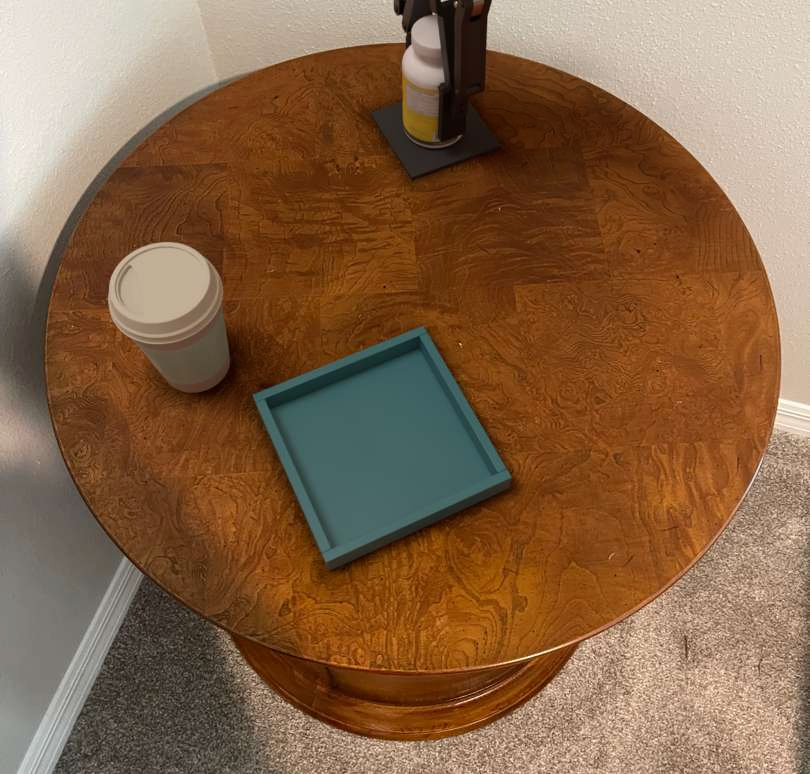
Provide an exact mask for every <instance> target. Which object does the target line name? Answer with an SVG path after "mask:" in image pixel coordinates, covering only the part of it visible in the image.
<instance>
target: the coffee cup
mask: <svg viewBox="0 0 810 774" xmlns="http://www.w3.org/2000/svg"><path fill="white" fill-rule="evenodd" d="M108 285H109V286H108V294H107V296H108V297H107V303H108V309H109V312H110V316H111V319H112V320H113V323H114V324H115V326H116V327H117V329H118V330H119V331H120V332H121V333H123V334H124V335H125V336H127V337H128V338H131V339H132V340H133V342H134V343H135V344H136V346H137V347H138V348H139V349H140V350H141V351H142V353H143V354H144V355H145V356H146V358H147V359H148V360H149V362H150V363H151V364H152V365H153V366H154V367H155V369H156V370H157V371H158V373H159V374H160V375H161V376H162V377H163V379H164V380H165V381H166V382H167V383H168V384H169V385H170V386H171V387H172V388H174V389H175V390H177V391H180V392H183V393H187V394H188V393H189V394H193V393H195V394H197V393H201V392H205V391H208V390H210V389H212V388H214V387H215V386H217V385H218V384H220V382H222V380H224V378H225V377H226V375H227V374H228V371H229V368H230V365H231V355H230V349H229V348H230V347H229V341H228V336H227V335H228V334H227V329H226V322H225V315H224V310H223V309H224V308H223V296H224V287H223V282H222V278H221V276H220V274H219V272H218V271H217V269H216V268H215V266H214V265H213V264H212V262H211V261H210V260H208V258H207V257H205V256H203V255H202V254H201V253H200V252H199V251H197V250H196V249H194V247H191V246H189V245H187V244H183V243H179V242H172V241H164V242H163V241H161V242H156V243H155V242H154V243H151V244H147V245H144V246H141V247H139V248H137V249H135V250H134V251H132V252H130V253H129V254H128V255H126V256H125V257H124V258H123V259H122V260H121V261H119V263H118V264H117V266H116V267H115V268H114V270H113V272H112V274H111V276H110V279H109V284H108Z"/></svg>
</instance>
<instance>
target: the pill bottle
mask: <svg viewBox="0 0 810 774" xmlns="http://www.w3.org/2000/svg"><path fill="white" fill-rule="evenodd" d="M411 43H412V44H411V45H410V46H409V47H408V49H407V50H406V49H405V51H404V54H403V57H402V61H401V87H402V89H401V90H402V91H401V93H402V94H401V95H402V102H403V127H404V130H405V133H406V134H407V136H408V137H409V138H410V139H411V140H412V141H413V142H415V143H416V144H418V145H420V146H423V147H427V148H442V147H446V146H449V145H451V144H453V143H455V142H456V141H457V140H459V139H460V138H461V136H462V135H460V136H457V137H454V138H451V139H449V140H446V141H443V142H441V141H440V140H439V139H438V112H439V90H438V87H437V86H439V85H440V83H443V82H445V81H444V72H443V63H442V55H441V46H440V37H439V29H438V20H437V15H436V14H433V15H429V16H425V17H423V18H421V19H419V20H418V21H417V22H416V23H415V24H414V25H413V27H412V31H411ZM466 122H467V121H466Z"/></svg>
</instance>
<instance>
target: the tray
mask: <svg viewBox="0 0 810 774" xmlns="http://www.w3.org/2000/svg"><path fill="white" fill-rule="evenodd" d="M252 399H253V401H254V404H255V407H256V410H257V412H258V414H259V416H260V419H261V421H262V424H263V426H264V428H265V430H266V432H267V435H268V437H269V439H270V440H271V444H272V447H273V448H274V451H275V453H276V455H277V457H278V459H279V462H280V465H281V467H282V469H283V471H284V473H285V476H286V478H287V480H288V482H289V485H290V487H291V489H292V492H293V495H294V496H295V498H296V500H297V503H298V505H299V508H300V509H301V510H300V511H301V512H302V514H303V517H304V519H305V521H306V523H307V526H308V528H309V530H310V532H311V534H312V538H313V540H314V541H315V543H316V546H317V548H318V550H319V553H320V555H321V558H322V560H323V562H324V564H325V566H326V567H325V568H326V569H327V571H328V572H331V571H332V570H334V569H337V568H339V567H341V566H344V565H346V564H348V563H350V562H352V561H354V560H356V559H358V558H361V557H363V556H365V555H367V554H369V553H372V552H374V551H376V550H378V549H381V548H382V547H385V546H386V545H389V544H392V543H393V542H395V541H398V540H400V539H402V538H404V537H407V536H408V535H411V534H413V533H415V532H417V531H419V530H421V529H423V528H427V527H428V526H430V525H433V524H435V523H436V522H439V521H441V520H443V519H445V518H448V517H450V516H452V515H454V514H456V513H458V512H460V511H461V512H462V510H465V509H468V508H470V507H472V506H473V505H476V504H478V503H480V502H482V501H485V500H487V499H490V498H491V497H493V496H495V495H498V494H500V493H502V492H504V491H506V490H508V489H510V486H511V482H512V475H511V473H510V471H509V470H508V468H507V467H506V465H505V463H504V461H503V460H502V458H501V456H500V455H499V453H498V452H497V450H496V448H495V446H494V444H493V442H492V441H491V439H490V437H489V436H488V434H487V432H486V431H485V429H484V427H483V426H482V424H481V422H480V420H479V418H478V417H477V415H476V414H475V412H474V410H473V409H472V406H471V405H470V403H469V401H468V399H467V398H466V396H465V394H464V393H463V392H462V389H461V388H460V386H459V384H458V383H457V381H456V380H455V378H454V376H453V374H452V372H451V371H450V369H449V367H448V365H447V363H446V362H445V361H444V358H443V357H442V355H441V354H440V352H439V350H438V349H437V347H436V345H435V344H434V341H433V339H432V338H431V336H430V334H429V333H428V331H427V330H426V328H425V326H424V325H421V326H419V327H416V328H413V329H412V330H408V331H406V332H404V333H402V334H399V335H397V336H394V337H391V338H389V339H387V340H383V341H381V342H380V343H377V344H374V345H371V346H369V347H367V348H365V349H364V348H363V349H362V350H360V351H357V352H355V353H352V354H349V355H347V356H345V357H342V358H340V359H337V360H335V361H333V362H330V363H327V364H325V365H323V366H320V367H318V368H315V369H313V370H309V371H308V372H305V373H303V374H300V375H298V376H295V377H293V378H290V379H288V380H285V381H283V382H280V383H278V384H275V385H273V386H270V387H267V388H266V389H262V390H261V391H258V392H256V393H253V394H252Z"/></svg>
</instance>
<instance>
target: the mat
mask: <svg viewBox="0 0 810 774" xmlns="http://www.w3.org/2000/svg"><path fill="white" fill-rule="evenodd" d="M369 113H370V117H371V118H372V120H373V121H374V123H375V125H376V126H377V128H378V130H379V131H380V133H381V134H382V136H383V137H384V139H385V141H386V142H387V144H388V145H389V146H390V148H391V150H392V152H393V154H395V155H396V157H397V160H398V161H399V162H400V164H401V165H402V167H403V168H404V170H405V172H406V173H407V174H408V176H409V178H410V179H411V181H413V180H416V179H418V178H421V177H425V176H427V175H429V174H433V173H435V172H438V171H440V170H444V169H446V168H449V167H452V166H454V165H457V164H460V163H463V162H465V161H468V160H471V159H473V158H476V157H479V156H481V155H484V154H488V153H490V152H493V151H496V150H498V149H500V148H501V143H500V141H498V139H497V138H496V137H495V135H494V134H493V132H492V131H491V130H490V128H489V127H488V126H487V124H486V123H485V121H484V120H483V119H482V117H481V116H480V115H479V113H478V112H477V111H476V109H475V108H474V107H473V105H472V104H471V102H470V100H469V101H468V113H467V122H466V134H463V135H462V136H461V138H460V139H459V140H457V141H456V142H455V143H453V144H451V145H449V146H446V147H442V148H427V147H423V146H420V145H418V144H416V143H415V142H413V141H412V140H411V139H410V138H409V137H408V136H407V134H406V133H405V130H404V127H403V101H400V102H397V103H395V104H392V105H389V106H385V107H382V108H380V109H376V110H374V111H371V112H369Z"/></svg>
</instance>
